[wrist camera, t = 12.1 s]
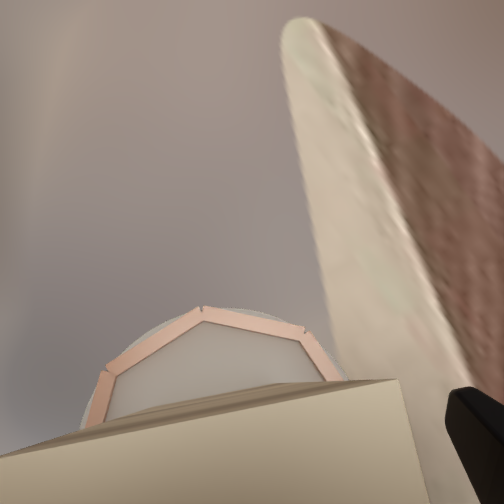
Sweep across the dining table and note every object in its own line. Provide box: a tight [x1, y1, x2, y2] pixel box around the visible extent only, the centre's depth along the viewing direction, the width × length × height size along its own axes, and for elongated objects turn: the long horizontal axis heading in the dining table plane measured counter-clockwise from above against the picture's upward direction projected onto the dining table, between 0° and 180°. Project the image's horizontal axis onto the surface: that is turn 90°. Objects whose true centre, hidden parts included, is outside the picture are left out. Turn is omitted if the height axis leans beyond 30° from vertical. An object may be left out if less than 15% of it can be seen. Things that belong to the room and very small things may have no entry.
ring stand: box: [79, 306, 349, 430], centre depth 19 cm, size 12×12×1 cm
